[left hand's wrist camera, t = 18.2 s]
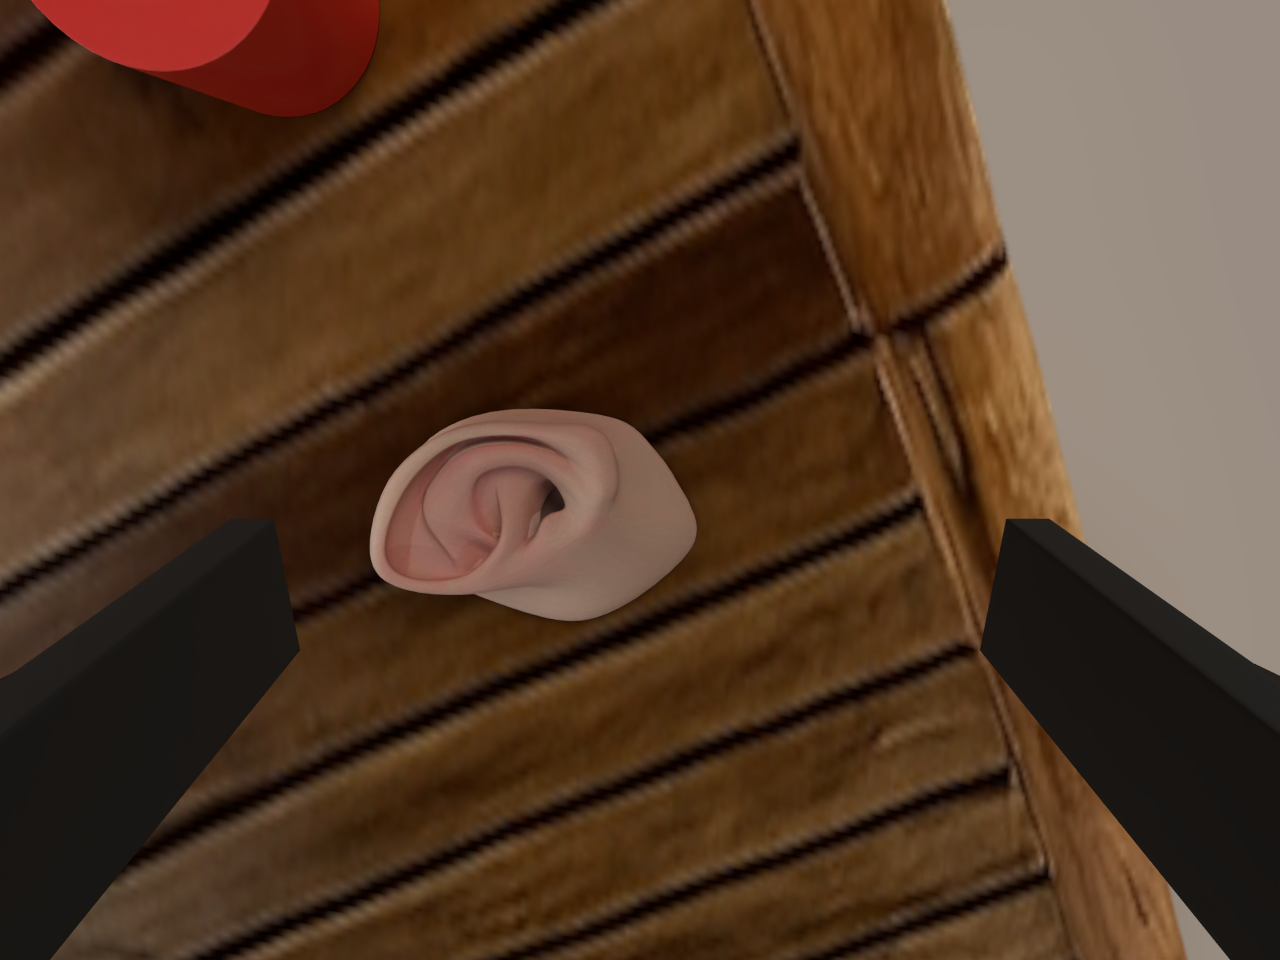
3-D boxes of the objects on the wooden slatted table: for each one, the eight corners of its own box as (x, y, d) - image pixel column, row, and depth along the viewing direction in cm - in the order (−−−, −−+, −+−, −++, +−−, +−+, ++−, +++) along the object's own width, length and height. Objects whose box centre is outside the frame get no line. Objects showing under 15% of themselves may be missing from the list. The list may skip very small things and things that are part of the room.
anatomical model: (746, 523, 28) (597, 717, 31) (733, 490, 32) (601, 666, 35) (462, 344, 26) (331, 573, 29) (484, 331, 30) (365, 535, 33)
